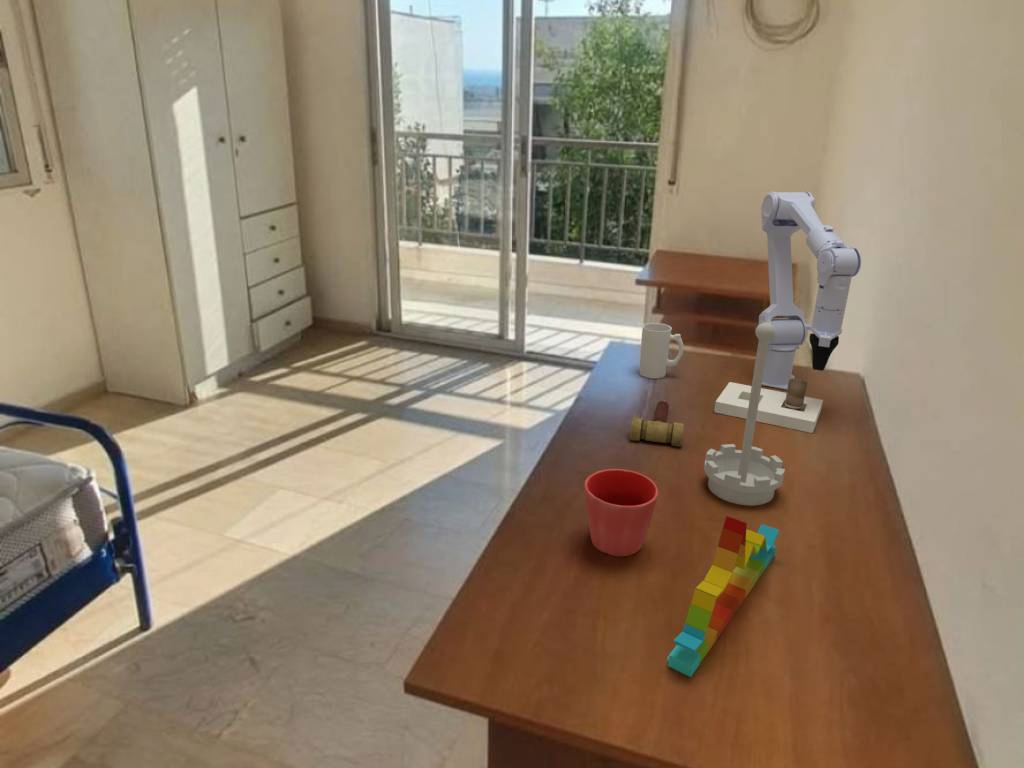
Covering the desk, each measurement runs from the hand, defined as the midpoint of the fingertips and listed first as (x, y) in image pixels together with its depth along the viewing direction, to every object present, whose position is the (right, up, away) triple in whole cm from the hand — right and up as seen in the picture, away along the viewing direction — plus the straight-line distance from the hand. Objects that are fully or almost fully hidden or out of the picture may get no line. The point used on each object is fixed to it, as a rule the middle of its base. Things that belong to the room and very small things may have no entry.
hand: (818, 369), depth 153 cm
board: (-9, -9, +3) cm, 14 cm away
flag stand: (-25, -22, -27) cm, 43 cm away
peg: (-5, -10, +1) cm, 11 cm away
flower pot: (-49, -27, -43) cm, 70 cm away
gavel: (-34, -12, -3) cm, 36 cm away
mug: (-29, -1, +22) cm, 37 cm away
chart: (-36, -33, -56) cm, 74 cm away
